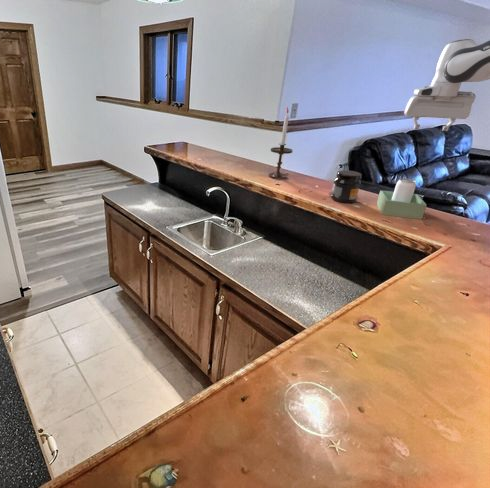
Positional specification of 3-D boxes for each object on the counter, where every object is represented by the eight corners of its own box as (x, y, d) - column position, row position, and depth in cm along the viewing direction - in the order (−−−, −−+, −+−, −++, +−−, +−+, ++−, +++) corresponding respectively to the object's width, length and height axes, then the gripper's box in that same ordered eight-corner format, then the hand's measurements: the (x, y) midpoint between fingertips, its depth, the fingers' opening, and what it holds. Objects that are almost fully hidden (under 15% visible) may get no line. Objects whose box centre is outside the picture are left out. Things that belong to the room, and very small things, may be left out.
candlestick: (263, 174, 191) (272, 106, 175) (280, 173, 193) (291, 105, 178) (273, 180, 181) (284, 108, 166) (291, 178, 184) (304, 107, 168)
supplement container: (361, 201, 152) (368, 174, 147) (344, 205, 148) (351, 177, 143) (341, 194, 161) (347, 169, 155) (324, 197, 157) (330, 171, 151)
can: (391, 210, 140) (401, 181, 135) (386, 205, 146) (395, 177, 140) (409, 212, 139) (420, 183, 133) (403, 206, 144) (413, 178, 139)
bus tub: (412, 207, 146) (417, 194, 144) (421, 219, 135) (426, 204, 132) (376, 203, 150) (380, 190, 148) (381, 214, 139) (386, 200, 136)
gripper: (474, 91, 128) (459, 130, 134) (409, 89, 134) (398, 127, 140) (481, 92, 122) (465, 133, 128) (413, 90, 128) (402, 129, 135)
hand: (430, 130), depth 134 cm, fingers open, 8 cm apart
